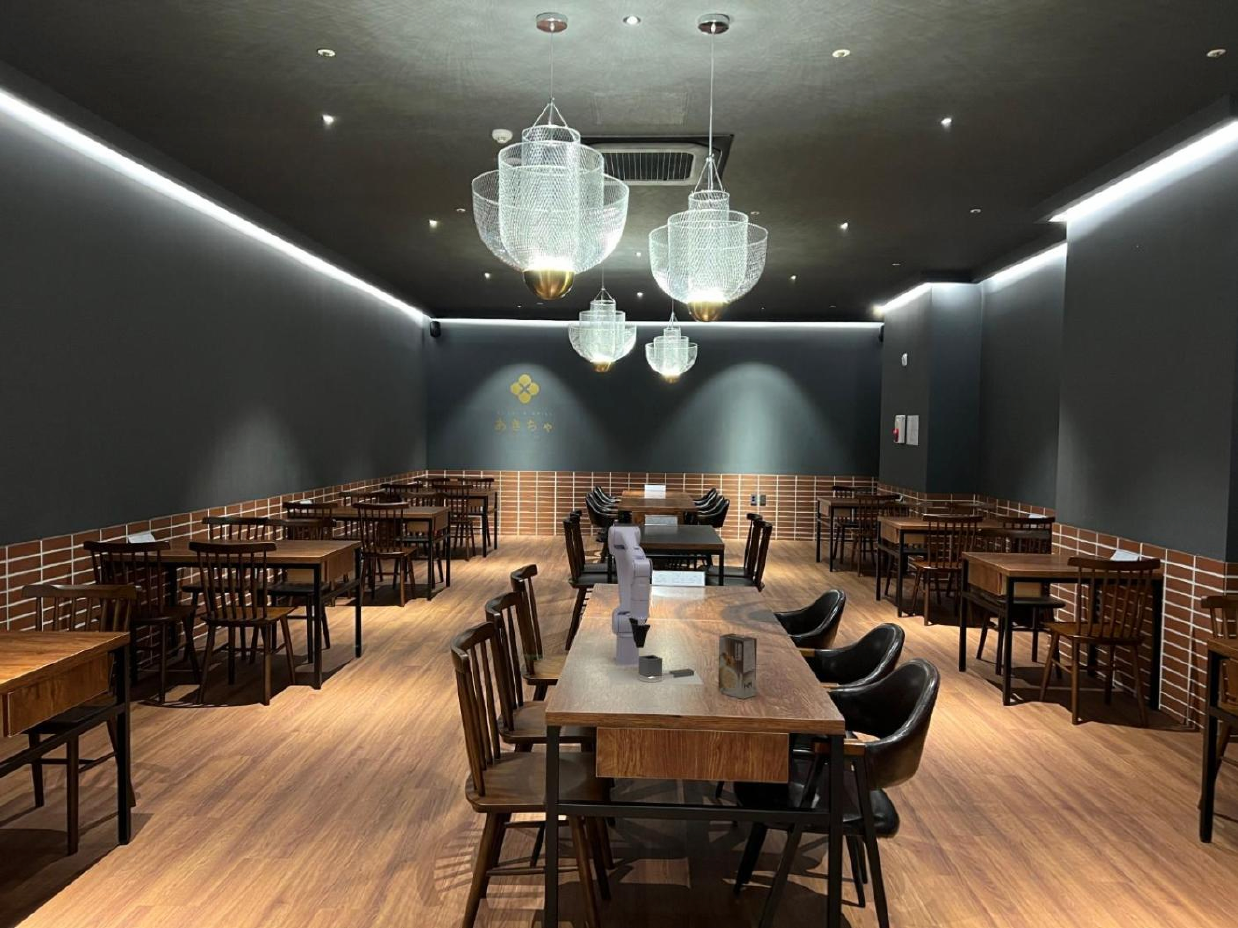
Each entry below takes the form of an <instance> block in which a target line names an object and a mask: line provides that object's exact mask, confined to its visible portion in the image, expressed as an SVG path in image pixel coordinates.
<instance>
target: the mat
mask: <svg viewBox="0 0 1238 928" xmlns="http://www.w3.org/2000/svg"><path fill="white" fill-rule="evenodd" d="M692 670H693V671H694V676H686V677H678V678H669V679H662V681H661V682H656V683H647V682H642V681H639V680H638V674H639V673H638V672H639V669H607V670H606V672H607V676H608V680H609V685H705V684H704V682H703V680H702V679H701V678H700V676H699V674H698V673H697V671H696V670H694V669H692ZM669 671H674V669H672V670H671V669H670V670H669V669H662V673H669Z"/></svg>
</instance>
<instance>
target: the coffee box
mask: <svg viewBox="0 0 1238 928" xmlns="http://www.w3.org/2000/svg"><path fill="white" fill-rule="evenodd" d="M757 640H758V639H757V637H751V636H747V635H744V634H743V635H742V634H737V633H726V634H723V635H719V637H718V684H717V685H718V688H717V689H718V692H720V693H721V694H722V695H727V696H731V697H734V698H737V699H738V698H739V699H741V700H745V699H748V698H751V697H755V696H756V695H757V650H758V649H757V646H758V645H757V644H758V642H757Z"/></svg>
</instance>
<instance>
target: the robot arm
mask: <svg viewBox="0 0 1238 928" xmlns="http://www.w3.org/2000/svg"><path fill="white" fill-rule="evenodd" d="M607 534H608V535H607V536H608V537H607V541H608V542H607V543H608V549H609V554H610V555H612V556H613V557H614V559H615V564H616V574H617V576H616V578H617V586H618V587H617V589H618V599H619V601H618V602H619V605H618V606H617V607H614V609H613V611H612V614H611V631H612V633H613V634H614V635H616V642H615V643H616V646H615V647H616V648H615V649H616V650H615V657H613V661H614V664H615V666H639V656H640V649H643V648H644V647H645V644H646V639H647V635H648V633H649V630H650V628H651V624H647V622H648V619H649V618H650V587H651V586H650V585H651V584H650V582H651V580H650V579H652V576H653V570H654V569H653V562H652V558H649V557H646V553H645V552H644V550H643V548H642V547H641V546H640V542H641V537H642V535H641V529H640V528H639V526H637V525H635V526H613V525H611V526H610V527H609V528H608V533H607Z"/></svg>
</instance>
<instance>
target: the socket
mask: <svg viewBox="0 0 1238 928" xmlns="http://www.w3.org/2000/svg"><path fill="white" fill-rule="evenodd" d="M638 670H639V672H638V673H639V674H641V675H643V676H645V677H655V676H662V670H663V657H660V656H658V655H655V654H650V655H649V654H648V655H639V665H638Z"/></svg>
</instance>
